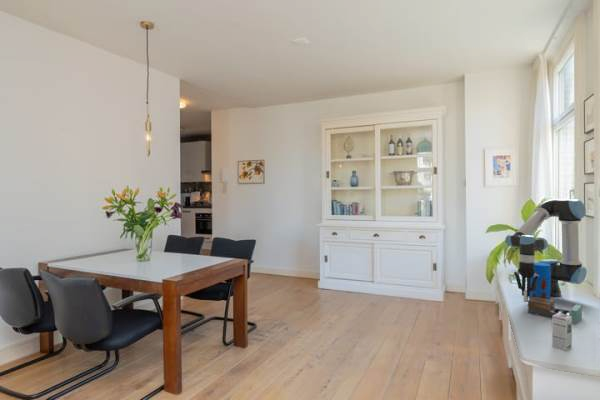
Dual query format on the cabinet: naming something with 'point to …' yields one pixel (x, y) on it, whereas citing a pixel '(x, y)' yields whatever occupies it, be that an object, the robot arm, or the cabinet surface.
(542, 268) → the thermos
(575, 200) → the robot arm
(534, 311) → the roller bed
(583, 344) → the cabinet surface
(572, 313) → the stop block
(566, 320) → the syrup box
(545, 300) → the slab
